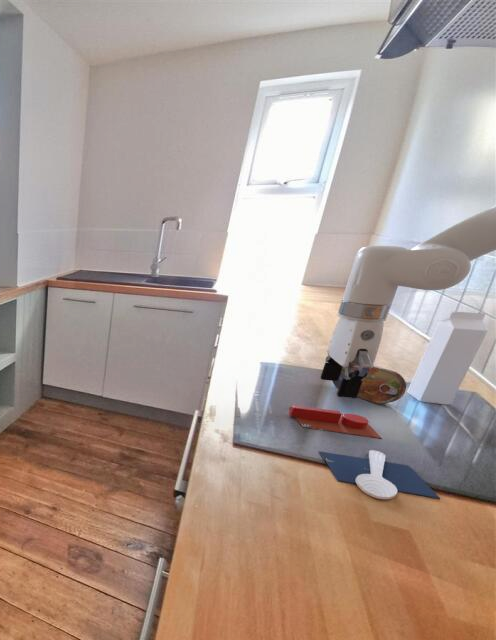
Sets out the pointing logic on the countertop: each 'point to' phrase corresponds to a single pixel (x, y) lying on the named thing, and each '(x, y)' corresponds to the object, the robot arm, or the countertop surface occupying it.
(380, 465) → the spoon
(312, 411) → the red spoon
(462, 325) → the milk
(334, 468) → the blue mat
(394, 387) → the tin
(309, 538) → the countertop surface
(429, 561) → the countertop surface
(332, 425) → the terracotta mat
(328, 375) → the robot arm
